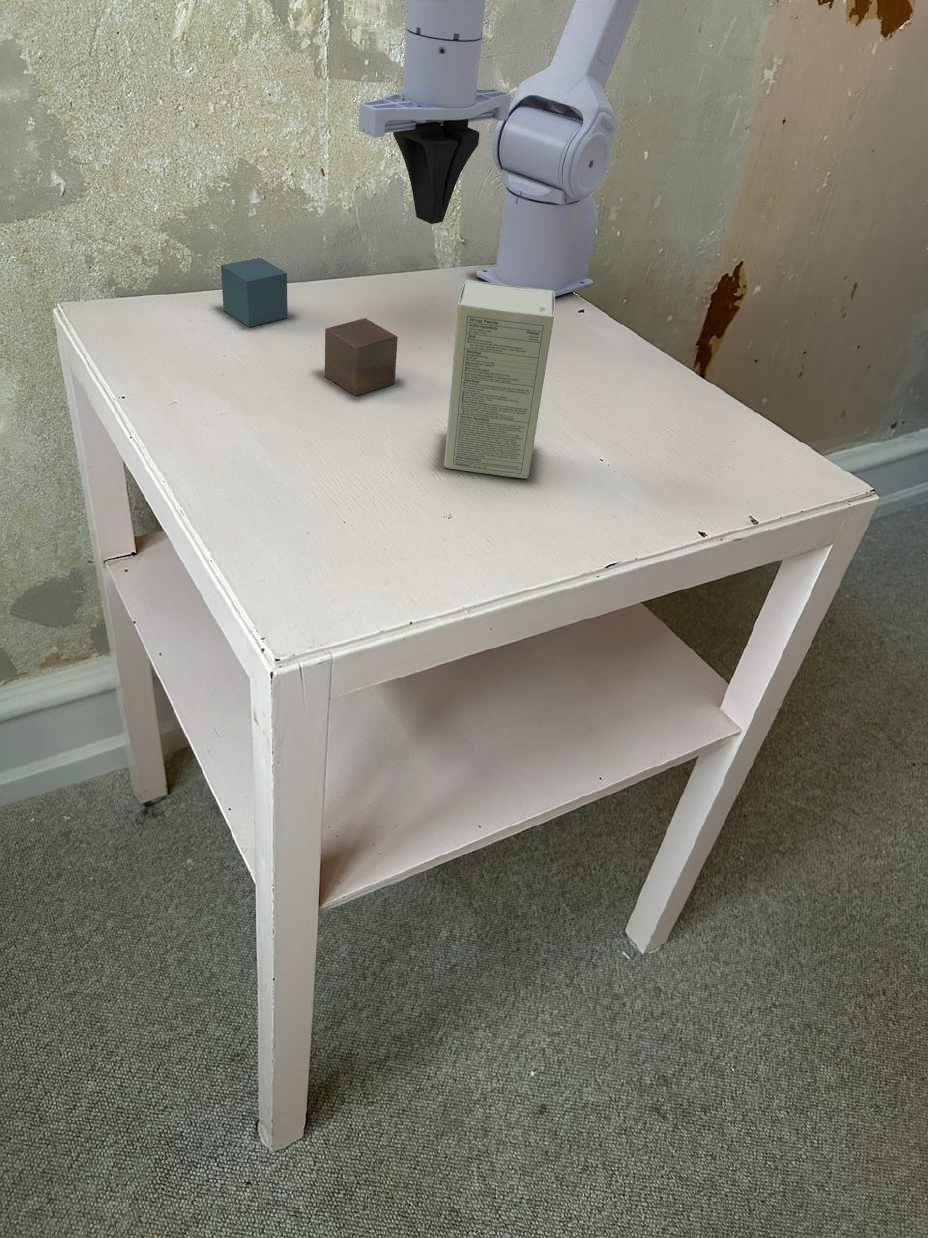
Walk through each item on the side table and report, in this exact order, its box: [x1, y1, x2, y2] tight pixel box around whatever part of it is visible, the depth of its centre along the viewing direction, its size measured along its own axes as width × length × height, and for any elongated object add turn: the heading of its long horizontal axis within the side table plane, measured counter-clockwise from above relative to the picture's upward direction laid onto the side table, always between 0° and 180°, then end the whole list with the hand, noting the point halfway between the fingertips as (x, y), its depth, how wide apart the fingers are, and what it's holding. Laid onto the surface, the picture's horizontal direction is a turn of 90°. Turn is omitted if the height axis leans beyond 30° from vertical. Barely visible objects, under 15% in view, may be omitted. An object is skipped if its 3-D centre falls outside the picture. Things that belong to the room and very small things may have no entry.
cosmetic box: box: [443, 279, 556, 479], centre depth 64 cm, size 6×4×12 cm
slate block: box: [220, 257, 288, 328], centre depth 82 cm, size 4×4×4 cm
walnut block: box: [324, 317, 399, 397], centre depth 74 cm, size 4×4×4 cm
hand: (429, 219), depth 80 cm, fingers closed
